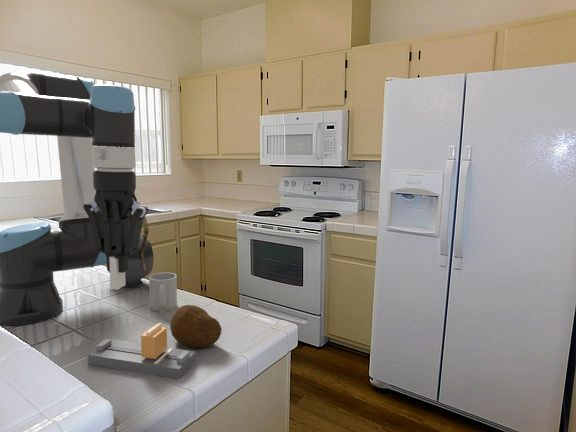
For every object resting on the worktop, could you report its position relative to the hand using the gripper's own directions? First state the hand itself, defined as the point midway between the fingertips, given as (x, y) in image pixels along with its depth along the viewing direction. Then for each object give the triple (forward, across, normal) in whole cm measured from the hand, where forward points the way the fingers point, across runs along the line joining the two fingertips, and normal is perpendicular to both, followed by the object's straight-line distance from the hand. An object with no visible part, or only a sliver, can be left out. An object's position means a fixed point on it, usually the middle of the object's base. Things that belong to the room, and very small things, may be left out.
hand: (118, 286), depth 78 cm
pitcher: (+17, -24, +40) cm, 50 cm away
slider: (+13, +8, -1) cm, 15 cm away
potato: (+16, +12, +9) cm, 22 cm away
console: (+15, +6, -1) cm, 16 cm away
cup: (+16, -5, +26) cm, 31 cm away
